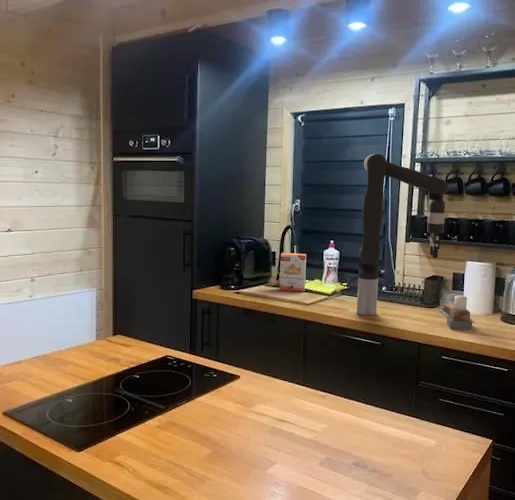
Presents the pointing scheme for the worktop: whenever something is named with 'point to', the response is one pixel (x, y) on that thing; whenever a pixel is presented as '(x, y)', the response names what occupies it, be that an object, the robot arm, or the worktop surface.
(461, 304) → the cream cylinder
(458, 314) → the walnut block
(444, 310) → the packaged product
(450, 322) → the charcoal base block
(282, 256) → the cracker box
